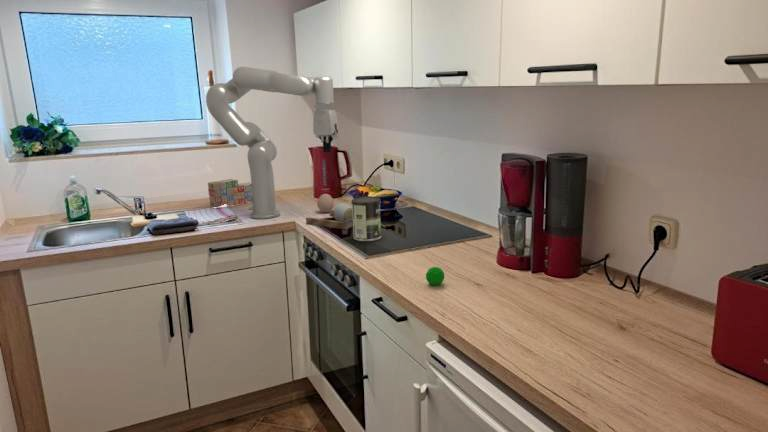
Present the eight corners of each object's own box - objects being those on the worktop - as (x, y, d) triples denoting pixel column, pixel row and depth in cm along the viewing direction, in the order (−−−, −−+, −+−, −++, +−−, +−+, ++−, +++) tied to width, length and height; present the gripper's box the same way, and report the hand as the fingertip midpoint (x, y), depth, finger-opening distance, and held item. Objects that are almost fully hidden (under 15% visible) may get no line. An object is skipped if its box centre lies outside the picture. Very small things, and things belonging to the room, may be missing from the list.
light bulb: (344, 226, 215) (343, 207, 213) (333, 222, 221) (332, 204, 219) (366, 222, 221) (366, 203, 219) (355, 219, 227) (354, 200, 226)
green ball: (434, 289, 146) (434, 272, 145) (422, 284, 150) (422, 267, 149) (448, 284, 149) (448, 267, 148) (436, 279, 152) (435, 263, 151)
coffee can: (382, 233, 203) (381, 196, 199) (380, 241, 193) (379, 202, 189) (354, 234, 203) (353, 196, 200) (351, 241, 193) (349, 202, 190)
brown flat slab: (306, 223, 221) (305, 216, 220) (331, 215, 234) (331, 208, 233) (345, 229, 210) (345, 221, 209) (370, 220, 223) (369, 213, 223)
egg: (314, 212, 241) (313, 193, 239) (328, 209, 245) (327, 191, 243) (323, 215, 236) (322, 196, 234) (337, 212, 240) (336, 193, 238)
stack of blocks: (250, 200, 273) (247, 176, 270) (256, 202, 268) (254, 177, 266) (210, 207, 259) (207, 182, 256) (216, 209, 254) (213, 183, 251)
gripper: (305, 108, 226) (307, 152, 230) (333, 107, 218) (336, 153, 222) (316, 107, 232) (319, 150, 236) (345, 106, 224) (347, 151, 228)
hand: (327, 151), depth 229 cm, fingers closed
